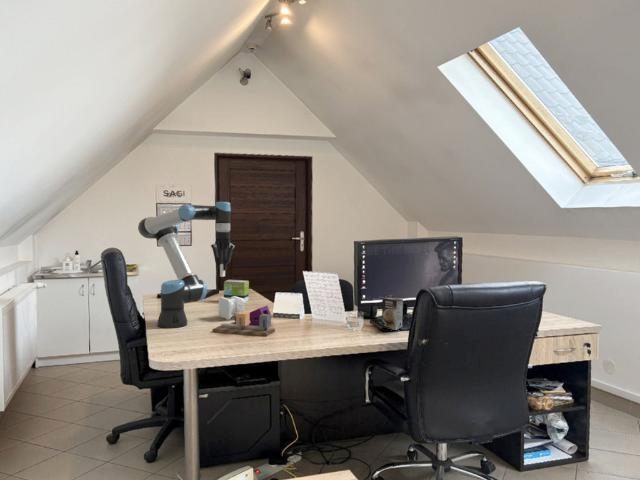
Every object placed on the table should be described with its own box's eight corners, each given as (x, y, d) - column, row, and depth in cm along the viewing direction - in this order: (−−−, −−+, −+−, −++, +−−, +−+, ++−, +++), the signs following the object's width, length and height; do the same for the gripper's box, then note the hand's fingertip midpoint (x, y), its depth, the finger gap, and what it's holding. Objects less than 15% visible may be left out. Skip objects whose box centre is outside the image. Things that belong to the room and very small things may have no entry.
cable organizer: (217, 316, 282) (217, 296, 281) (234, 314, 288) (234, 295, 287) (228, 321, 269) (228, 300, 269) (245, 319, 276) (245, 298, 275)
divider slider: (234, 328, 241) (234, 313, 241) (240, 325, 247) (240, 311, 247) (244, 329, 240) (244, 314, 239) (249, 326, 246) (249, 312, 245)
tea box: (223, 302, 331) (223, 281, 330) (228, 300, 341) (228, 279, 340) (244, 303, 328) (244, 281, 328) (249, 301, 338) (249, 280, 338)
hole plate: (212, 332, 241) (212, 328, 241) (222, 327, 252) (222, 324, 252) (266, 336, 234) (266, 333, 234) (274, 331, 244) (275, 328, 244)
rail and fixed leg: (218, 328, 243) (218, 313, 243) (224, 325, 250) (224, 311, 249) (265, 331, 236) (266, 316, 236) (270, 329, 243) (270, 314, 242)
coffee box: (381, 328, 254) (381, 298, 254) (388, 326, 259) (388, 296, 258) (395, 331, 248) (396, 300, 248) (402, 329, 253) (403, 298, 252)
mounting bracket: (237, 336, 260) (265, 323, 254) (231, 321, 261) (259, 308, 255) (245, 332, 269) (273, 320, 263) (239, 317, 270) (267, 305, 264)
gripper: (208, 231, 251) (207, 276, 252) (231, 231, 248) (230, 277, 248) (215, 231, 258) (214, 275, 259) (237, 231, 255) (237, 276, 256)
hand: (222, 276), depth 254 cm, fingers closed
